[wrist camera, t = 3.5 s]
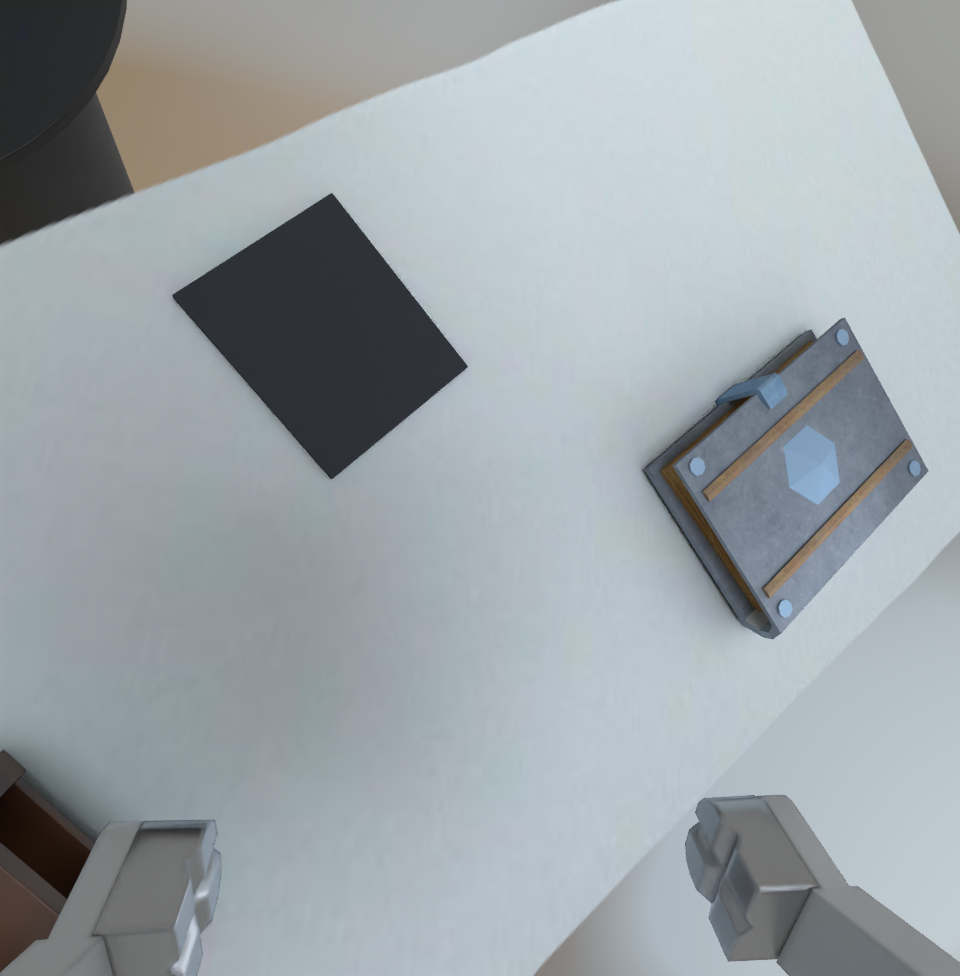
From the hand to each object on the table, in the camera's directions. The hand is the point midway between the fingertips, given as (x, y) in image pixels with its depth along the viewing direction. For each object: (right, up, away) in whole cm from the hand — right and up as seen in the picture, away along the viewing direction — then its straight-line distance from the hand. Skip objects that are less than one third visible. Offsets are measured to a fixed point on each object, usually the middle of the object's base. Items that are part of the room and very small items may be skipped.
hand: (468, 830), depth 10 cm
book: (+25, +7, +40) cm, 48 cm away
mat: (-9, +16, +28) cm, 33 cm away
